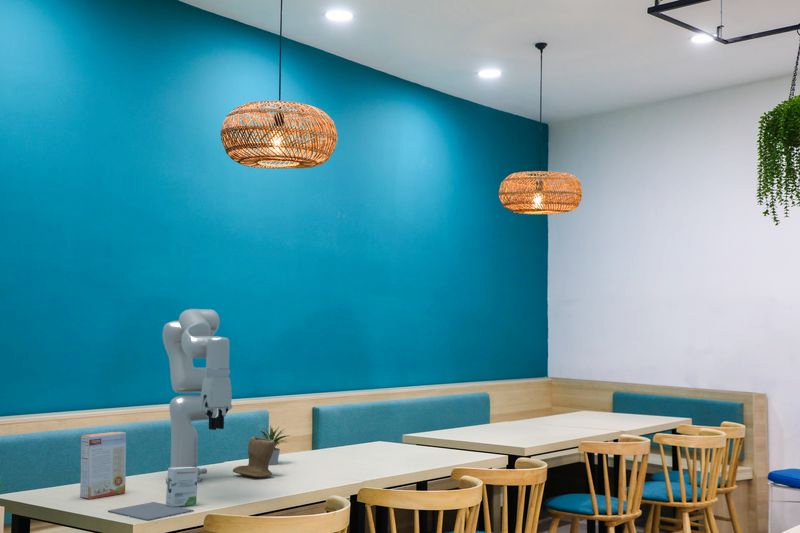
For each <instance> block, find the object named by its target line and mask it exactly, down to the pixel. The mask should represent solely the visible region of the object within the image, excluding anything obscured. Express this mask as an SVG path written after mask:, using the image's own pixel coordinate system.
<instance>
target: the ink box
mask: <svg viewBox="0 0 800 533" xmlns="http://www.w3.org/2000/svg"><path fill="white" fill-rule="evenodd" d="M198 468H199V467H197V468H196V467H177V468H171V467H168V468H167V477H166V479H167V482H166V495H165V504H166V505H168V506H171V507H183V506H184V507H185V506H195V505H197V496H198V482H197V480H198Z"/></svg>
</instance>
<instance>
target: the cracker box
mask: <svg viewBox="0 0 800 533" xmlns="http://www.w3.org/2000/svg"><path fill="white" fill-rule="evenodd" d="M80 438H81V439H80V483H79V484H80V486H79V488H80V491H79V492H80V494H79V496H80V498H82V499H87V500H92V499H99V498H104V497H109V496H117V495H123V494H126V476H127V475H126V474H127V473H126V472H127V470H126V468H127V467H126V465H127V463H126V462H127V432H124V431H119V430H118V431H110V432H108V431H107V432H99V433H90V434H83V435H81V436H80Z"/></svg>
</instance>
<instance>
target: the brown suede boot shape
mask: <svg viewBox="0 0 800 533" xmlns="http://www.w3.org/2000/svg"><path fill="white" fill-rule="evenodd" d="M274 447H275V448H276V446H275V443H274V439H273V440H270V439H266V438H264V437H260V436H258V437H257V436H251V437H250V439H249V440H248V445H247V455H248V465H238V466H236V467H234V468H233V469H232V472H233V473H235V474H238V475H243V476H246V477H249V478H266V477H267V478H268V477H271V476H273V474H274V473H273V472H272V471H271V470H270V469H269V465H268V464H269V461H270V459H271V457H272V454H273V451H274Z"/></svg>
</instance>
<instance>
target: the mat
mask: <svg viewBox="0 0 800 533" xmlns="http://www.w3.org/2000/svg"><path fill="white" fill-rule="evenodd" d="M191 511H193V512H194V511H195V510H194V509H190V508H185V507H182V506H176V507H171V506H168V505H166V503H161V502H156V501H151V502H145V503H142V504H136V505H129V506H125V507H120V508H114V509H109V510H107V513H111V514H116V515H121V516H125V517H128V516H129V518H134V519H137V520H143V521H153V520H154V521H155V520H158V518H159V519H163V518H162V517H164V518H167V517H168V516H169V517H173V516H177V514H178V515H182V514H181V513H183V514H186V513H187V512H188V513H192V512H191ZM172 515H173V516H172ZM169 517H168V518H169Z"/></svg>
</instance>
